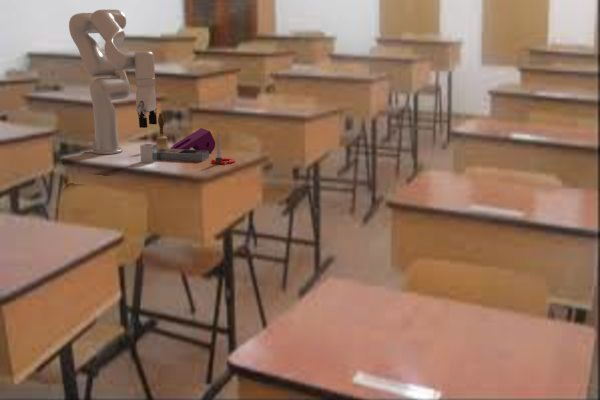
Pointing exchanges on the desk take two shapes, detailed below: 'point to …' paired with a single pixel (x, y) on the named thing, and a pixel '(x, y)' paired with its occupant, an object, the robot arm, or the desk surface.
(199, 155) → the grey tray
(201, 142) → the mounting bracket
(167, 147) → the hand bell
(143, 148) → the white cylinder
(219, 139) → the red scissors
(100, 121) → the robot arm
